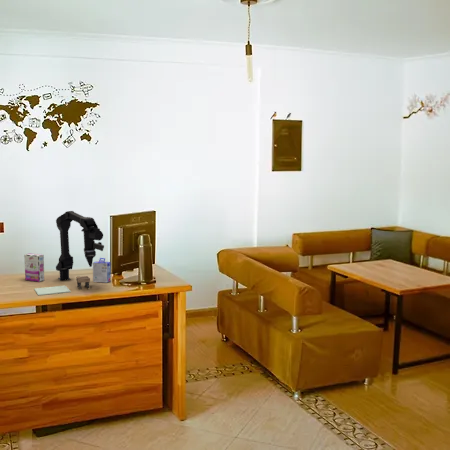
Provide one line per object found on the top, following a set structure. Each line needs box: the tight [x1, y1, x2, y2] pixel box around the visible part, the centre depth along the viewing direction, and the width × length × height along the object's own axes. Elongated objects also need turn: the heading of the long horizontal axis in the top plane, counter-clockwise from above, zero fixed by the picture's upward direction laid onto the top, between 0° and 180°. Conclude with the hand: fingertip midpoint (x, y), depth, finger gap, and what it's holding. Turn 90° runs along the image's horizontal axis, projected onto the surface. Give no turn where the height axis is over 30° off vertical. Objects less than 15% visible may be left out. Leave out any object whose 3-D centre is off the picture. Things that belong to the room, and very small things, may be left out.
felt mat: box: [33, 285, 72, 297], centre depth 342 cm, size 14×18×1 cm
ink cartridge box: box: [92, 257, 112, 283], centre depth 364 cm, size 10×6×14 cm, turn 78°
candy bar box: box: [23, 253, 45, 283], centre depth 364 cm, size 11×5×16 cm, turn 68°
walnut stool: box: [76, 275, 91, 290], centre depth 349 cm, size 6×6×6 cm
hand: (90, 265), depth 348 cm, fingers open, 9 cm apart
